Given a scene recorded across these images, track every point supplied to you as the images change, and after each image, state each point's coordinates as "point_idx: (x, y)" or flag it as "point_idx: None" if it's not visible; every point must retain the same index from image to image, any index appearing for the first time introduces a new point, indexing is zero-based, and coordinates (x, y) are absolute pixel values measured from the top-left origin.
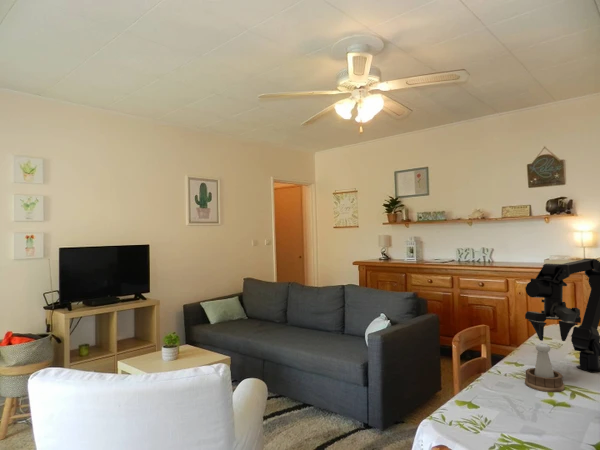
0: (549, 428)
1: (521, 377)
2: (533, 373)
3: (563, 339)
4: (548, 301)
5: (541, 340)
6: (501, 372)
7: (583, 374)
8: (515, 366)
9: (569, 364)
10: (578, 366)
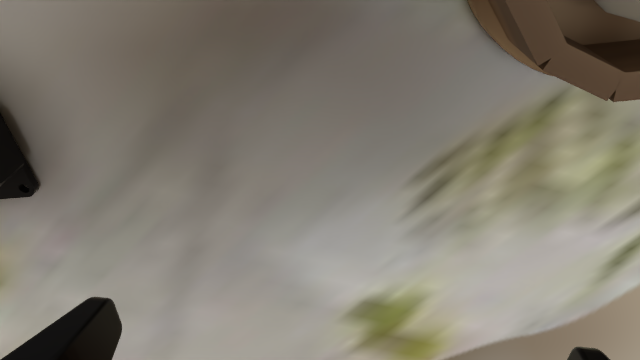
0: None
1: (598, 130)
2: (636, 54)
3: (99, 330)
4: None
5: (595, 355)
6: (623, 240)
7: (70, 59)
8: (430, 296)
9: (52, 245)
10: (19, 188)
